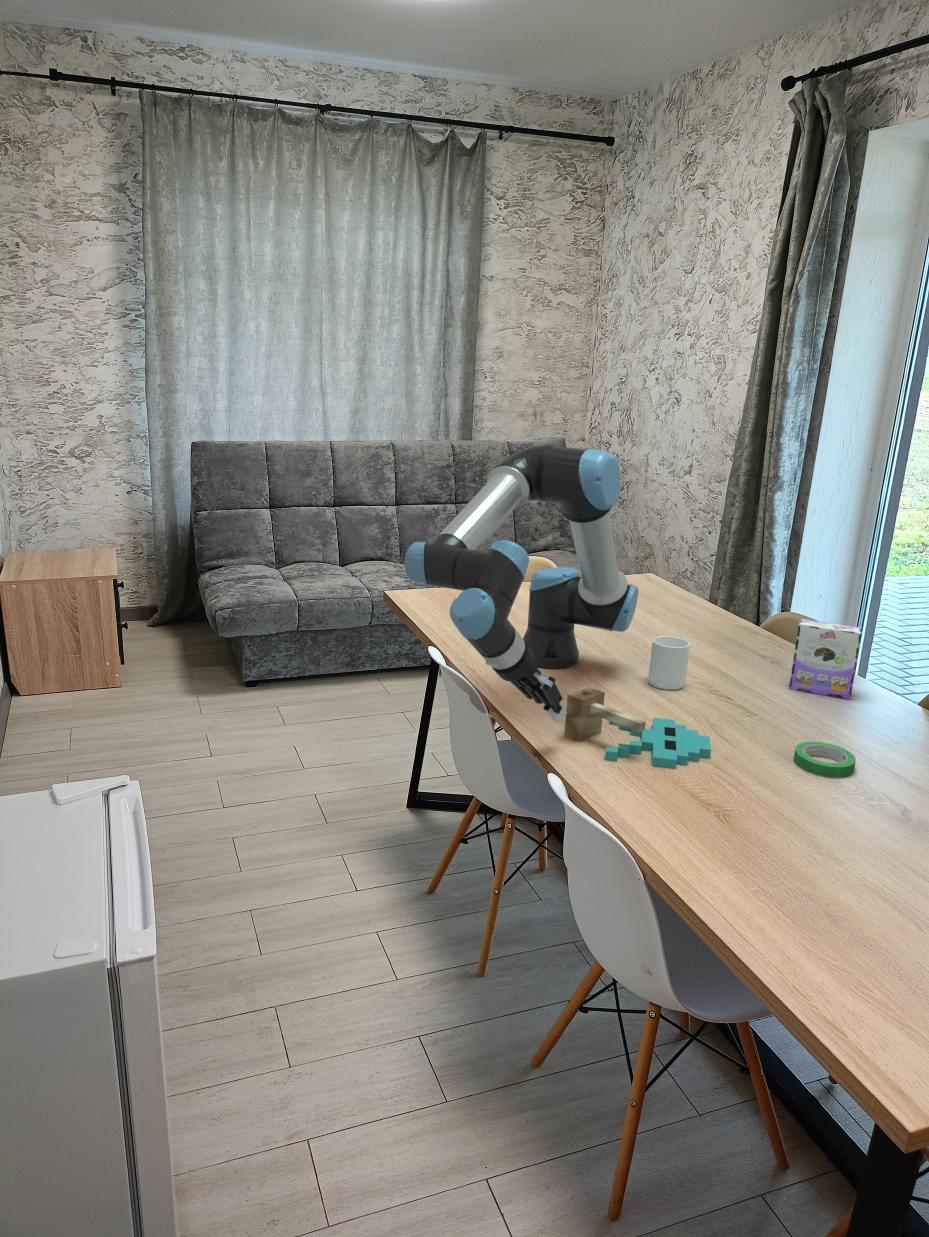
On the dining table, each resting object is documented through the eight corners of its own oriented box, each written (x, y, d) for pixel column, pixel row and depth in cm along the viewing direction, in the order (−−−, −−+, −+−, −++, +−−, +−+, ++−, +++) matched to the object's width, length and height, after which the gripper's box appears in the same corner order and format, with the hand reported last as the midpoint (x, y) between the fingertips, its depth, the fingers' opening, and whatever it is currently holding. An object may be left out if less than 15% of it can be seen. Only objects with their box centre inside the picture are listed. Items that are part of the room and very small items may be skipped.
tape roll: (847, 784, 169) (850, 771, 168) (787, 768, 175) (789, 755, 174) (858, 763, 178) (860, 751, 177) (800, 748, 184) (802, 736, 183)
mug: (675, 673, 223) (679, 631, 220) (689, 691, 211) (694, 647, 208) (640, 672, 222) (645, 631, 219) (653, 690, 211) (658, 647, 208)
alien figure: (604, 761, 174) (711, 775, 171) (605, 751, 174) (713, 764, 170) (610, 722, 193) (706, 733, 189) (611, 712, 192) (707, 723, 189)
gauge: (564, 735, 184) (567, 690, 181) (585, 726, 189) (589, 683, 186) (628, 762, 173) (633, 715, 170) (649, 752, 178) (654, 706, 175)
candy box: (851, 692, 215) (863, 626, 211) (850, 700, 210) (862, 633, 205) (790, 681, 221) (800, 617, 216) (788, 689, 216) (798, 623, 211)
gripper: (470, 660, 164) (526, 722, 181) (523, 680, 156) (577, 744, 172) (492, 627, 166) (545, 691, 183) (545, 645, 158) (596, 711, 174)
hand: (560, 716), depth 177 cm, fingers closed
